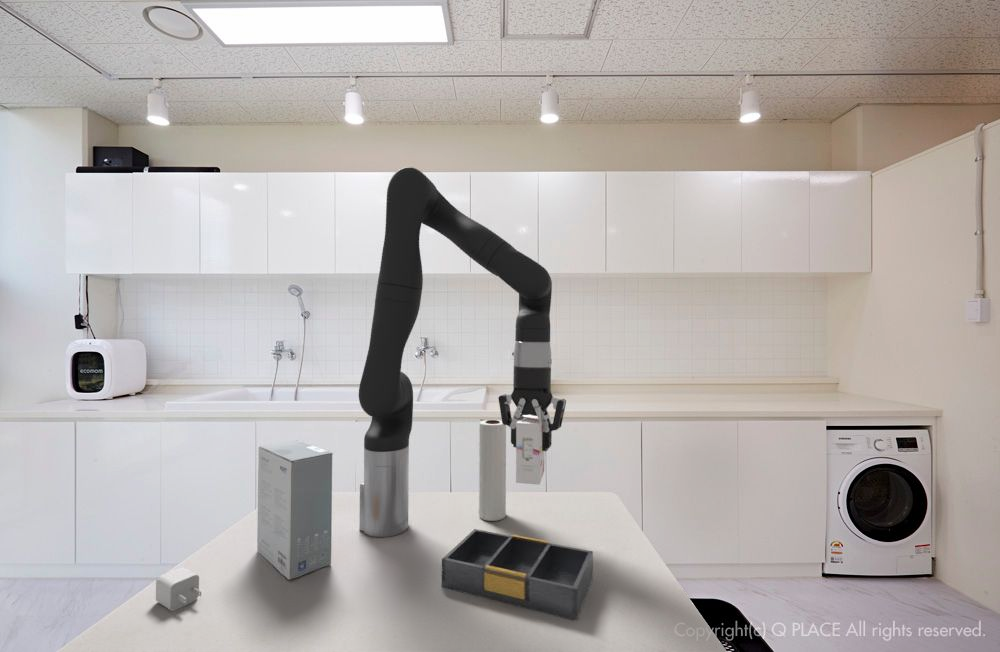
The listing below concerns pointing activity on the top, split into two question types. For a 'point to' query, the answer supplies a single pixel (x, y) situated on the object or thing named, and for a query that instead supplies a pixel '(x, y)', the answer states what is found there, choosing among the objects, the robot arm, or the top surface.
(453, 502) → the top surface
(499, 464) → the paper towel roll
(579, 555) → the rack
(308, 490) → the hard drive box
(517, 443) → the ink cartridge box
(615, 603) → the top surface
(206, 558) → the top surface
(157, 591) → the usb wall charger
